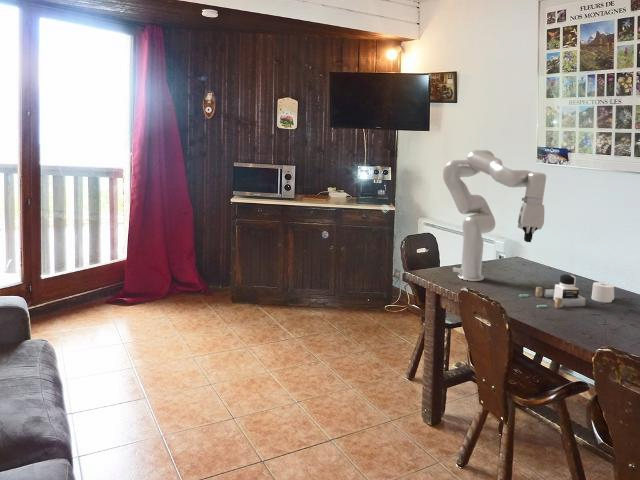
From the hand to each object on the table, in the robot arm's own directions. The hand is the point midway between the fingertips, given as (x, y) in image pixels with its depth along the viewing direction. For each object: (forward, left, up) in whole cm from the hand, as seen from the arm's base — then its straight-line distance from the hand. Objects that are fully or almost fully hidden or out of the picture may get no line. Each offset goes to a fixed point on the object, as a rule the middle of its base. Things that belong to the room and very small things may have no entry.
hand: (527, 241), depth 248 cm
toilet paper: (+33, +11, -24) cm, 42 cm away
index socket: (+18, -3, -24) cm, 30 cm away
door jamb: (+12, -8, -24) cm, 28 cm away
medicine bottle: (+19, -4, -24) cm, 31 cm away
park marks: (+7, -12, -24) cm, 27 cm away
